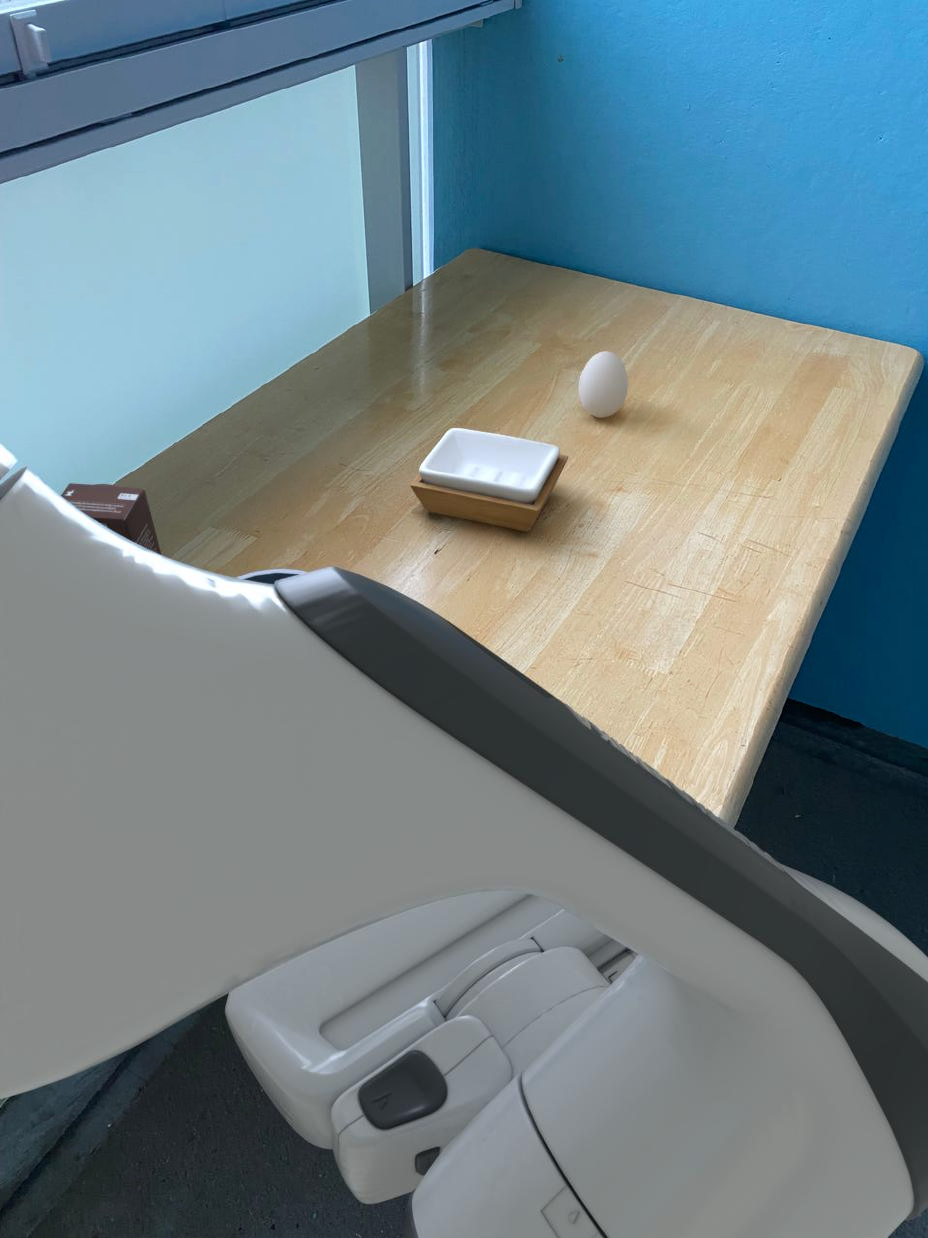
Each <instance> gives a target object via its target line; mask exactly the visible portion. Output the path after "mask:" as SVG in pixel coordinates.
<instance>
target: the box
mask: <svg viewBox="0 0 928 1238" xmlns="http://www.w3.org/2000/svg"><path fill="white" fill-rule="evenodd" d="M60 496H61V497H63V498H64V499H66V500H67V501H68V502H70V503H71V504H72V505H74V506H75V507H76V508H77V509H79V510H80V511H81V512H83V513H85V514H86V515H88V516H89V517H91V518H93V519H94V520H96V521H97V522H99V523H101V524H102V525H104V526H106V527H107V528H109V529H110V530H112V531H114V532H116V533H118V534H119V535H121V536H123V537H125V538H127V539H129V540H131V541H132V542H134V543H136V544H139V545H141V546H143V547H145V548H147V549H149V550H151V551H154V552H156V553H158V554H160V555H162V550H161V547H160V544H159V539H158V535H157V532H156V528H155V523H154V519H153V516H152V512H151V508H150V504H149V501H148V497H147V492H146V489H145V488H143V487H132V486H119V485H115V484H109V483H95V484H91V483H90V484H87V483H75V482H71V483H68V485H67V486H66V487H65V489H64V490H63V492H62V493H61V494H60Z"/></svg>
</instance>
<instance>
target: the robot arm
mask: <svg viewBox="0 0 928 1238" xmlns="http://www.w3.org/2000/svg"><path fill="white" fill-rule="evenodd" d="M18 460H19V458H18V457H17V456H15V455H14V454H13V453H12V452H11V451H10V450H9V449H8V448H7V447H5V446H4V445H3V444H2V443H1V442H0V481H1V480H2V479H3V478H4V477H6V475H7V474H8V473H9V471H10V470H11V469H12V468H13V467H14V466H15V465H16V463H17V462H18ZM306 572H307V573H303V574H299V575H295V576H292V577H288V578H284V579H280V580H276V581H275V583H274V584H267V583H261V582H255V581H249V580H244V579H239V578H236V576H235V577H234V576H229V575H225V574H222V573H216V572H214V571H213V572H212V571H209V570H206V569H202V568H199V567H196V566H193V565H190V564H187V563H183V562H181V561H178V560H175V559H172V558H170V557H167V556H165V555H160V554H158V553H156V552H154V551H151V550H149V549H147V548H145V547H143V546H141V545H139V544H136V543H134V542H132V541H131V540H129V539H127V538H125V537H123V536H121V535H119V534H118V533H116V532H114V531H112V530H110V529H109V528H107V527H106V526H104V525H102V524H101V523H99V522H97V521H96V520H94V519H93V518H91V517H89V516H88V515H86V514H85V513H83V512H81V511H80V510H79V509H77V508H76V507H75V506H74V505H72V504H71V503H70V502H68V501H67V500H66V499H64V498H63V497H61V494H59V493H58V492H56V491H55V489H53V488H52V487H51V486H50V485H48V484H47V483H46V482H45V481H44V480H43V479H41V478H40V477H39V476H38V475H37V474H36V473H34V472H33V470H31V469H30V468H29V467H28V466H24V467H22V468H21V469H18V471H16V472H15V473H14V474H12V475H10V476H9V477H8V478H7V479H5V480H4V481H3V482H2V483H0V1100H3V1099H6V1098H10V1097H13V1096H17V1095H20V1094H24V1093H27V1092H31V1091H33V1090H36V1089H39V1088H42V1087H44V1086H47V1085H50V1084H52V1083H55V1082H59V1081H61V1080H64V1079H67V1078H69V1077H72V1076H74V1075H76V1074H80V1073H81V1072H84V1071H86V1070H88V1069H90V1068H94V1067H95V1066H97V1065H99V1064H102V1063H104V1062H106V1061H108V1060H110V1059H113V1058H115V1057H117V1056H119V1055H120V1054H123V1053H125V1052H127V1051H129V1050H131V1049H133V1048H135V1047H136V1046H139V1045H140V1044H142V1043H144V1042H147V1040H149V1039H151V1038H153V1037H155V1036H156V1035H158V1034H159V1033H161V1032H163V1031H164V1030H166V1029H168V1028H169V1027H171V1026H173V1025H175V1024H176V1023H178V1022H180V1021H182V1020H184V1019H185V1018H187V1017H188V1016H190V1015H192V1014H193V1013H195V1012H197V1011H199V1010H200V1009H203V1008H204V1007H206V1006H208V1005H209V1004H212V1003H213V1002H215V1001H217V1000H218V999H220V998H222V997H224V996H226V995H227V999H226V1003H225V1007H224V1014H225V1018H226V1022H227V1024H228V1027H229V1029H230V1032H231V1034H232V1037H233V1039H234V1041H235V1043H236V1045H237V1047H238V1050H239V1051H240V1053H241V1055H242V1057H243V1059H244V1060H245V1062H246V1063H247V1066H248V1067H249V1069H250V1070H251V1072H252V1074H253V1075H254V1077H255V1079H256V1080H257V1081H258V1083H259V1085H260V1086H261V1088H262V1090H263V1091H264V1092H265V1093H266V1095H267V1097H268V1098H269V1100H270V1101H271V1103H272V1104H273V1105H274V1107H275V1108H276V1110H277V1111H278V1112H279V1113H280V1115H281V1116H282V1117H283V1118H284V1120H285V1121H286V1122H287V1123H288V1125H289V1126H290V1127H291V1128H292V1129H293V1130H294V1131H295V1132H296V1134H298V1135H299V1136H300V1137H301V1138H303V1139H304V1140H305V1141H306V1142H308V1143H310V1144H311V1145H313V1146H316V1147H318V1148H321V1149H325V1150H332V1152H333V1156H334V1160H335V1163H336V1166H337V1168H338V1171H339V1173H340V1175H341V1177H342V1179H343V1181H344V1183H345V1184H346V1186H347V1188H348V1189H349V1191H350V1192H351V1193H352V1195H353V1196H354V1197H355V1199H356V1200H358V1201H359V1202H360V1203H362V1204H365V1205H374V1204H379V1203H383V1202H386V1201H389V1200H392V1199H394V1198H398V1197H400V1196H404V1195H406V1194H409V1193H410V1194H409V1197H408V1202H407V1206H406V1210H405V1214H404V1220H403V1225H402V1226H403V1227H402V1235H401V1238H889V1237H890V1236H891V1235H892V1234H893V1232H894V1231H895V1230H896V1229H897V1228H898V1227H899V1226H901V1224H902V1223H903V1222H904V1221H907V1222H909V1221H911V1220H914V1219H916V1218H917V1217H918V1216H920V1215H921V1213H923V1212H924V1211H925V1210H926V1209H928V956H927V955H926V954H925V953H924V952H923V951H922V950H921V949H920V948H919V947H918V946H917V945H915V944H914V943H913V942H912V941H911V940H910V939H909V938H907V936H905V934H903V933H902V932H901V931H900V930H899V929H897V928H896V927H895V926H893V925H892V924H891V923H890V922H889V921H887V919H884V918H883V917H882V916H881V915H879V914H878V913H876V912H875V911H874V910H872V909H870V907H868V906H867V905H865V904H864V903H862V902H860V901H859V900H857V899H855V898H854V897H852V896H851V895H849V894H846V893H845V892H844V891H841V890H839V889H837V888H836V887H834V886H832V885H830V884H828V883H826V882H824V881H822V880H819V879H817V878H815V877H813V876H811V875H809V874H806V873H803V872H801V871H799V870H796V869H795V868H791V867H789V866H787V865H785V864H782V863H780V862H779V861H778V860H776V859H775V858H774V857H773V856H771V855H770V854H769V852H768V853H767V851H764V849H761V848H760V847H759V846H758V845H757V844H756V843H755V842H753V841H751V840H749V838H747V837H746V836H745V835H744V834H742V832H740V831H738V830H736V829H734V828H733V827H732V826H731V825H730V824H729V823H728V822H726V821H725V820H723V819H722V818H721V817H720V816H717V815H716V814H714V812H713V811H712V810H710V809H709V808H706V807H705V806H704V805H703V804H702V803H701V802H698V801H697V800H696V798H694V797H693V796H691V795H690V794H689V793H687V792H686V791H685V790H683V789H681V788H679V787H678V786H676V784H675V783H674V782H672V781H671V780H670V779H668V778H666V777H665V776H663V775H662V774H661V773H660V772H659V771H658V770H657V769H655V768H654V767H653V766H651V765H650V764H649V763H648V762H646V761H644V760H642V758H641V757H639V756H638V755H635V753H634V752H631V751H629V750H628V749H627V748H626V747H625V746H624V744H622V743H619V742H618V741H617V739H615V738H614V737H613V736H610V735H609V734H608V733H607V732H605V731H604V730H601V729H600V728H599V727H598V726H597V725H596V724H594V722H592V721H590V720H589V719H588V718H587V717H585V716H582V715H581V714H580V713H578V712H577V711H575V710H574V709H573V707H572V706H570V705H569V704H567V703H565V702H563V701H562V700H560V699H559V698H557V697H556V696H555V695H553V694H552V693H550V692H549V691H548V690H546V689H545V688H544V687H542V686H541V685H540V684H538V683H536V682H535V681H533V680H532V679H531V678H530V677H528V676H527V675H526V674H524V673H523V672H522V671H519V670H518V669H517V668H515V667H514V666H513V665H511V664H510V663H509V662H507V661H506V660H504V659H503V658H501V657H500V656H498V655H497V654H496V653H495V652H493V651H492V650H490V649H489V648H487V647H486V646H485V645H483V644H482V643H481V642H479V641H478V640H476V639H475V638H473V637H472V636H470V635H469V634H468V633H466V632H465V631H464V630H462V629H461V628H460V627H458V626H456V625H455V624H454V623H452V622H451V621H449V620H448V619H446V618H445V617H443V616H441V615H440V614H439V613H437V612H435V611H433V610H432V609H430V608H429V607H428V606H426V605H424V604H422V603H421V602H419V601H417V600H416V599H413V598H411V597H410V596H408V595H406V594H404V593H402V592H400V591H398V590H396V589H394V588H393V587H390V586H388V585H386V584H384V583H381V582H379V581H377V580H375V579H372V578H369V577H367V576H365V575H362V574H359V573H356V572H353V571H350V570H348V569H345V568H341V567H338V566H335V565H330V566H326V567H323V568H319V569H315V570H311V571H306Z"/></svg>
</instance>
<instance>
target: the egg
mask: <svg viewBox="0 0 928 1238" xmlns="http://www.w3.org/2000/svg"><path fill="white" fill-rule="evenodd" d="M628 390H629V376H628V373H627V369H626V366H625V364H624V363H623V361H622V359H621V358H620V357H619V355H617V354H615V352H612V351H609V350H604V351H600V352H598V353H596V354H594V355H593V356H592V357H590V359H589V360H587V362H586V364H585V366H584V368H583V370H582V371H581V373H580V377H579V380H578V392H577V393H578V398H579V400H580V404H581V405H582V407H583V409H584V410H585V411H586V412H587V413H588V414H589V415H591V416H592V417H595V418H599V419H601V418H608V417H610V416H612V415H614V414H615V413H617V412H618V411H619V410H620V409H621V408H622V407H623V405H624V403H625V401H626V399H627V396H628Z"/></svg>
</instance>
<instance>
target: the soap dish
mask: <svg viewBox="0 0 928 1238" xmlns="http://www.w3.org/2000/svg"><path fill="white" fill-rule="evenodd" d="M568 460H569V455H566V454H562V453H561V448H560V447H559V446H557V445H554V444H551V443H550V444H549V443H545V442H541V441H536V440H530V439H527V438H526V439H525V438H520V437H515V436H509V435H504V434H498V433H493V432H486V431H481V430H475V429H474V430H473V429H468V428H461V427H452V428H450V429H448V430H447V431H446V432H445V434H444V435H443V436H442V437H441V439H440V440H439V441H438V443H437V444H436V445H435V446H434V447H433V448H432V450H431V451H430V452H429V453H428V455H427V456H426V457H425V459H424V460H423V462H422V463H421V465H420V466H419V469H418V473H417V474H416V475H415V477H414V478H413V479H412V481H411V482H410V484H409V486H410V488H411V490H412V492H413V493H414V495H415V496H416V498H417V499H418V501H419V503H420V504H421V505H422V507H423V508H424V510H425V511H427V513H428V514H430V515H436V514H439V515H444V516H448V517H454V518H458V519H459V518H460V519H464V520H468V521H474V522H478V523H481V524H482V523H483V524H486V525H492V526H497V527H501V528H506V529H511V530H516V531H518V532H521V533H528V532H530V531H531V529H532V527H533V525H534V524H535V522H536V520H537V518H538V517H539V515H540V513H541V511H542V510H543V507H544V506H545V504H546V503H547V501H548V499H549V497H550V495H551V494H552V492H553V490H554V488H555V486H556V485H557V482H558V480H559V478H560V476H561V474H562V472H563V470H564V468H565V466H566V464H567V462H568Z"/></svg>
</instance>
